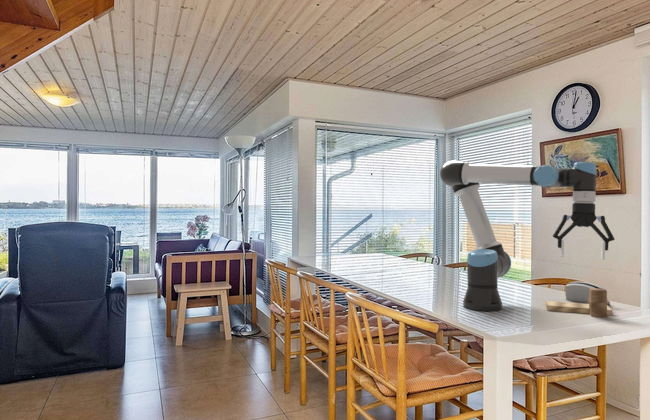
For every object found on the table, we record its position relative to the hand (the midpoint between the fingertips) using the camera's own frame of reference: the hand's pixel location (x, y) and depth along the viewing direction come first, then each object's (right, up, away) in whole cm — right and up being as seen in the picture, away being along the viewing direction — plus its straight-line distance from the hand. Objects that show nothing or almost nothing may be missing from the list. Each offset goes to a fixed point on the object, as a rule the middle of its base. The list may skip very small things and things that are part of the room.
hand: (582, 257), depth 165 cm
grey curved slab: (+14, -22, +20) cm, 33 cm away
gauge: (+6, -22, +2) cm, 22 cm away
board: (+1, -22, +5) cm, 22 cm away
